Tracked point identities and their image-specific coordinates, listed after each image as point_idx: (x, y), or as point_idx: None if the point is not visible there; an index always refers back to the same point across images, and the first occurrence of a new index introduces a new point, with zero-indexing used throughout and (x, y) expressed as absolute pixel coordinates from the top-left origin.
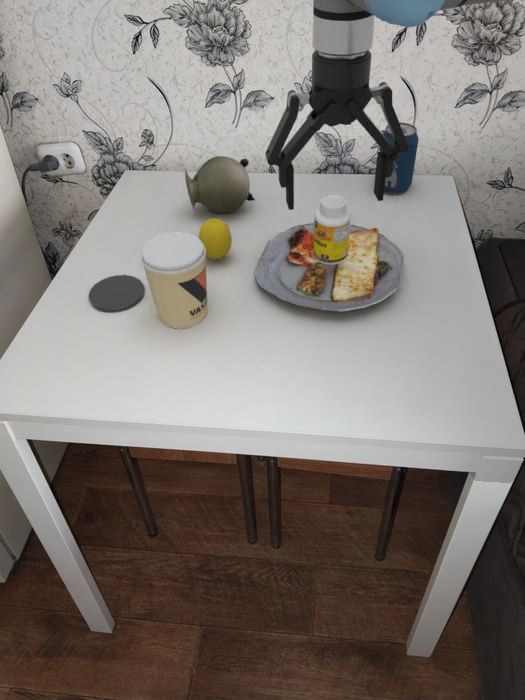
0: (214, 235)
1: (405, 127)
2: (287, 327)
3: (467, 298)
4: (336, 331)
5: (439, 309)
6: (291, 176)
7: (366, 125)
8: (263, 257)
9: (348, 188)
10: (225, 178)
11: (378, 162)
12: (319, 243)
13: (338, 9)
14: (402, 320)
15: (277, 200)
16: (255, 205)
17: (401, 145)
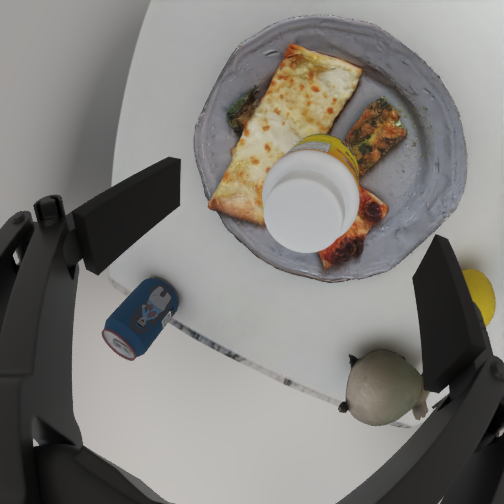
0: (489, 298)
1: (114, 345)
2: (453, 65)
3: (153, 35)
4: (380, 15)
5: (197, 16)
6: (471, 318)
7: (17, 371)
8: (422, 235)
9: (213, 318)
10: (391, 395)
11: (113, 240)
12: (356, 168)
13: None
14: (261, 3)
15: (311, 343)
16: (344, 348)
17: (14, 228)
